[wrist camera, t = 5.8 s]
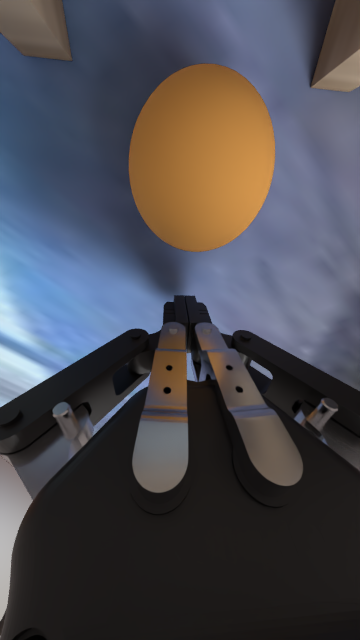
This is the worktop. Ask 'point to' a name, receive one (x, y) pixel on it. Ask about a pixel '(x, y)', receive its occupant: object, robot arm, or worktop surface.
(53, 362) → the worktop surface
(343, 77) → the bridge
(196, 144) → the ball
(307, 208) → the worktop surface
